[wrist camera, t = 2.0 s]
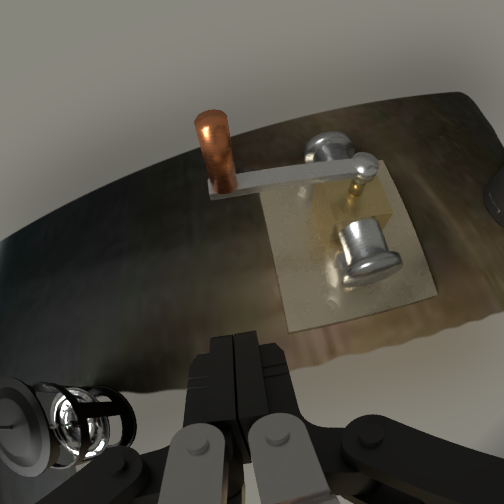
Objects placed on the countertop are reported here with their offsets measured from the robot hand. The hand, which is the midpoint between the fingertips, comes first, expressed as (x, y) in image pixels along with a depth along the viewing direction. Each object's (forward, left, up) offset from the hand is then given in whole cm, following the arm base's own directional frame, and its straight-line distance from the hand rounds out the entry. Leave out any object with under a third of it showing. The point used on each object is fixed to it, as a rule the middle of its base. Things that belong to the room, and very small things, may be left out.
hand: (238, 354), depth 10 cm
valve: (-14, -15, -25) cm, 33 cm away
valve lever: (-7, -16, -14) cm, 22 cm away
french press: (+21, +5, -26) cm, 33 cm away
